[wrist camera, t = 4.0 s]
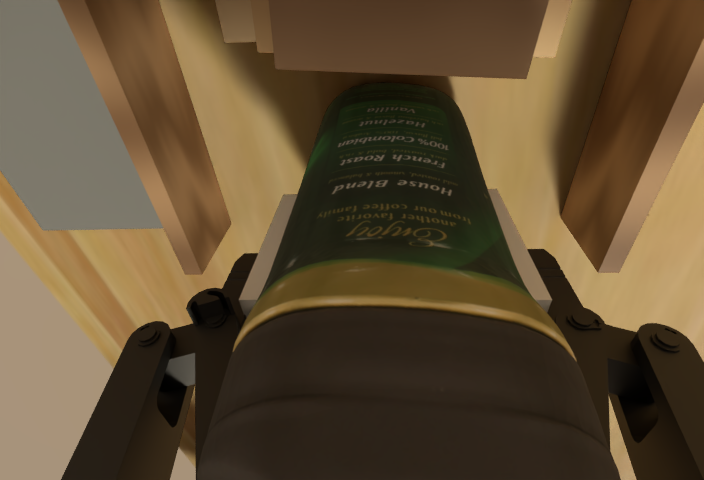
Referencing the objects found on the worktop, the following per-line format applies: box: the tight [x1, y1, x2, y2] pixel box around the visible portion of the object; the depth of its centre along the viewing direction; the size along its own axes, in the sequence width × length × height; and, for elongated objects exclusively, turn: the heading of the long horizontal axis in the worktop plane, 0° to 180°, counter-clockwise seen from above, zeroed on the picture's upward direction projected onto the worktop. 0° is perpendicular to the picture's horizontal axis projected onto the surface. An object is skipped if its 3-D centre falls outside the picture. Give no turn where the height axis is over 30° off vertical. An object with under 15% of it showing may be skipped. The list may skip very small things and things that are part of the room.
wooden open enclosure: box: [57, 0, 704, 275], centre depth 17 cm, size 16×23×5 cm
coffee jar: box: [197, 83, 621, 480], centre depth 14 cm, size 10×8×19 cm
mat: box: [0, 0, 163, 230], centre depth 21 cm, size 14×11×1 cm
